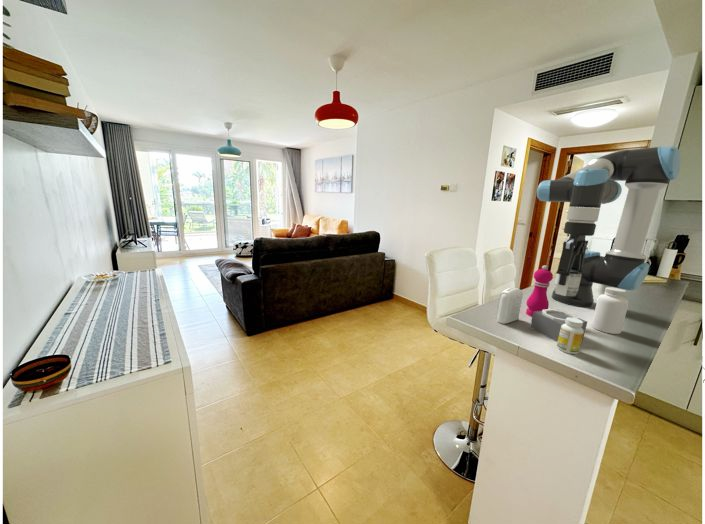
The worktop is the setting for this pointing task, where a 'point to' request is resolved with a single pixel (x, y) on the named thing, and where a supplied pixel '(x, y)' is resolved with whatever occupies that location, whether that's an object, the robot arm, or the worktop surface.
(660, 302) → the worktop surface
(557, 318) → the grey block with ring
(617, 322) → the pill bottle
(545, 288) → the pepper mill
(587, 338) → the worktop surface
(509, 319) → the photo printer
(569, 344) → the supplement bottle
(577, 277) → the camera lens
